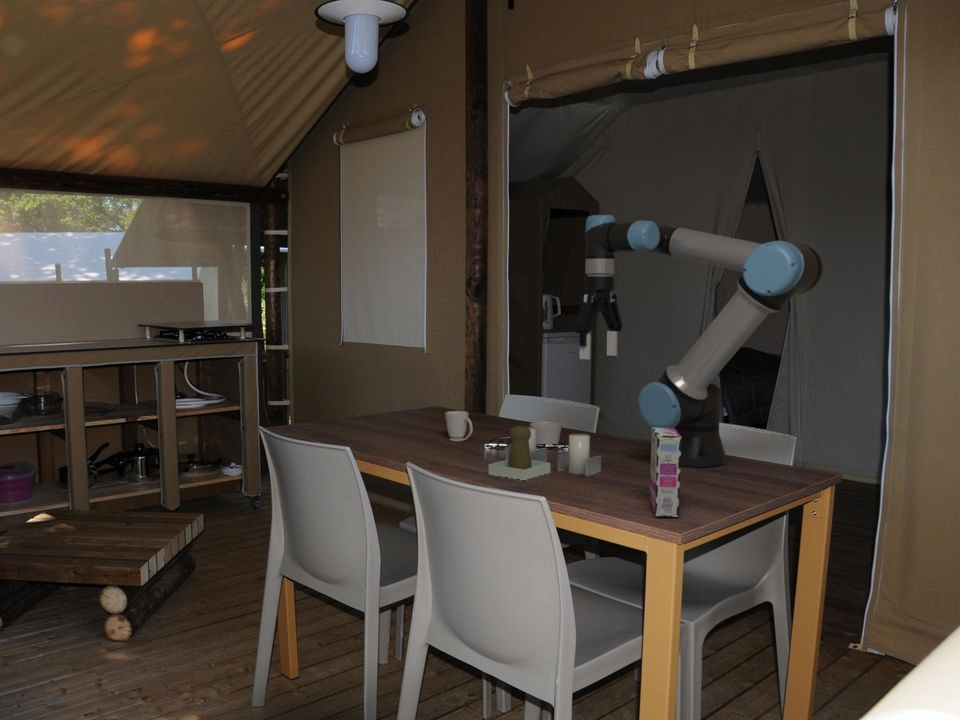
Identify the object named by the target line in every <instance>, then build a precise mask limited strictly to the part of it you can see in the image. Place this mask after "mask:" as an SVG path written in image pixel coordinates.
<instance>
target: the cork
mask: <svg viewBox="0 0 960 720" xmlns="http://www.w3.org/2000/svg"><path fill="white" fill-rule="evenodd" d="M528 427H529V426H523V425H522V426H521V425H517V426H512V427H511V428H510V430H509V438H510V440H511V445H510V446H511V450H510V457H509V465H508V467H511V468H517V469H523V470H525V469H528V468H531V467H532V465H531V457H530V448H529V439H530V437H531V431H530V429H529V428H528Z"/></svg>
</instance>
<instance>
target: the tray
mask: <svg viewBox="0 0 960 720" xmlns="http://www.w3.org/2000/svg"><path fill="white" fill-rule="evenodd" d="M508 465H509V459H507V460H505V459H504V460H501V461H495V462H493V463H489V464H488V475H489V476H493V477H494V476H495V477H499V476H501V477H500V478H505V477H508V478H507V479H511V478H513V480H516V479H520V480H519V481H522V480H526V481H528V480H527V479H529V480H531V479H530V478H533V479H535V478H534V477H536V478H538V477H537V476H539V477H541V476H540V475H542V476H545V475H544V474H546V475H549V474H550V473H551V462H548V461H547V462H541V461H535V460H531V465H532V467H531V468H528V469H525V470H523V469H517V468H511V467H508ZM548 473H549V474H548Z"/></svg>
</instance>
